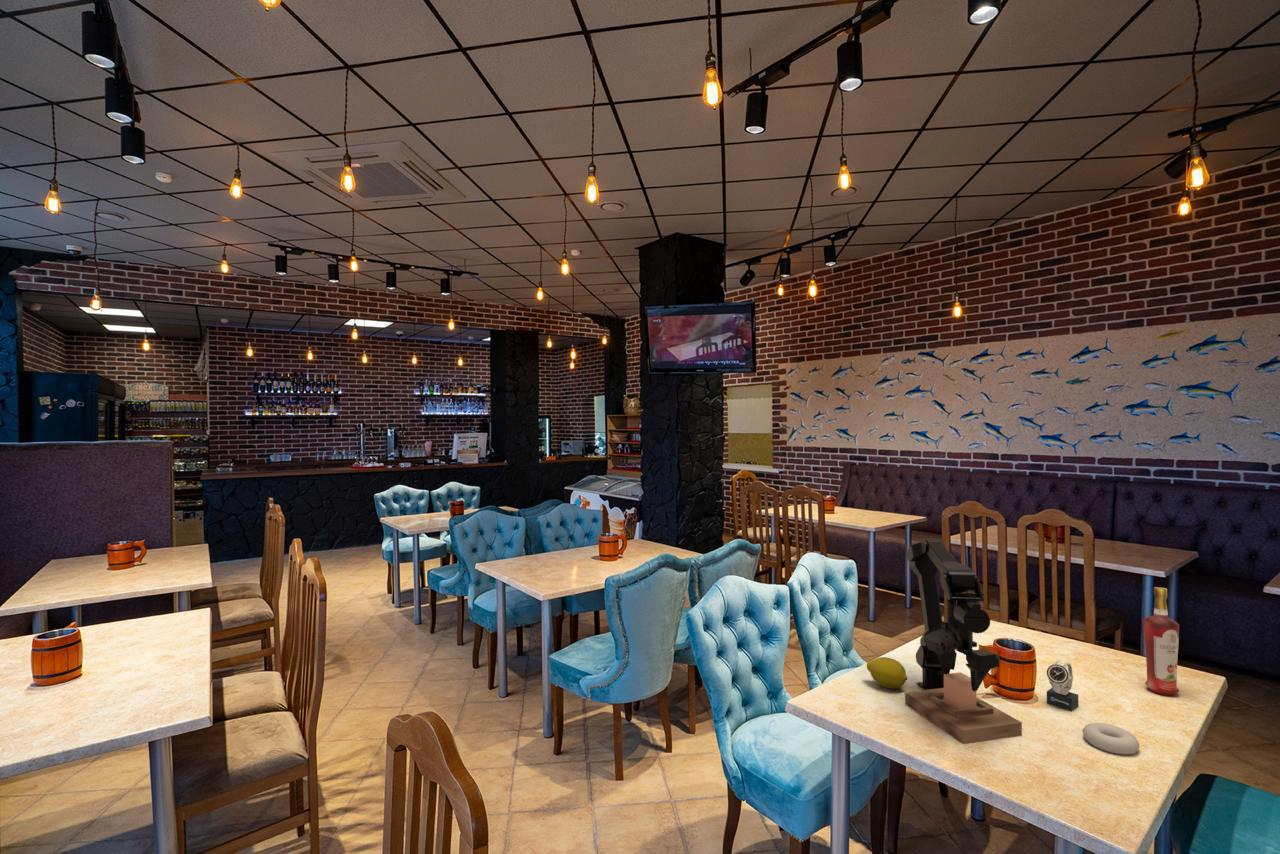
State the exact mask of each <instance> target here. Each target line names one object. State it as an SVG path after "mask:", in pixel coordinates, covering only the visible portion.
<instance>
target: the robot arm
mask: <svg viewBox="0 0 1280 854" xmlns="http://www.w3.org/2000/svg"><path fill="white" fill-rule="evenodd" d="M906 558H907V560H908V562H909V567H910V569H911V571H912V572H913V573H914V574H915V575H916V577H917V580H918V586H919V587H918V588H919V594H920V595H919V596H920V602H921V611H922V617H923V624H924V626H923V627H924V631H923V633H922V635H921V637H920V640H919V644H920V645H919V647H918V649H917V651H916V652H915V662H916V664H918V666H919V667H920V668H921V671H922V672H921V673H922V674H921V675H922V681H919V682H917V685H918V687H921V688H922V689H923V690H929V689H938V688H944V674H950V673H951V670H953V671H954V670H955V668H956V660H957V654H958V653H957V652H959V653H961V654H962V655H965V660H966V662H967V663H965V666H966V667H967V668H968V669H969V671H970V672H969V673H970V677H971V686H972V691H976V692H977V691H978V690H979V688H980V686H981V685H982V683H983V681H984V680H985V678H986V677H987V675H988V674H989V672H990V671H991V669H993V670H994V669H996V668H1000V657H999V656H998V655H997V654H996V653H994V652H991V651H990V650H988V649H986V648H983V649H982V648H981V649H973V648H976V647H977V648H978V642H976V641H974V637H973V635H974V634H982V633H985V632H986V631H987V630H988V629H989V628H990V625H991V618H990V617H989V614H988V613H987V612H986V611H985V610H984V609H982V604H981V603H980V602H984V595H985V593H984V590H983V587H982V585H981V582H980V580H979V578H978V575H977V574H976V573H975V572H974V570H973V569H972V568H970V567H969V566H968V565H966V564H962V563H959V562H958V561H957V560H956V558H955V557H954V556H953V555H952V554H951V552H950V551H949V549H948V548H947V547H946V546H945V544H944V540H942V539H938V538H936V539H935V538H924V539H922V540H921V541H920V542H917V543H914V544H912V545H910V546H909V547H908V549H907V551H906ZM938 572H939V573H940V575H939V580H940V581H939V582H940V584H941V588H942V591H943V592H944V596H945V602H946V603H945V608H946V610H945V613H946V615H945V616H946V619H945V620H944V621H943V616H942V611H941V604H940V603H941V602H940V597H939V589H938V584H937V583H938V582H937V575H938ZM956 651H957V652H956Z"/></svg>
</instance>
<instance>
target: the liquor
mask: <svg viewBox="0 0 1280 854" xmlns="http://www.w3.org/2000/svg"><path fill="white" fill-rule="evenodd" d="M1153 595H1154V607H1153V615H1150V616H1149V615H1148V616H1146V617H1145V618H1143V619H1142V621H1143V622H1142V623H1143V636H1144V647H1145V661H1146V662H1145V663H1146V681H1145V684H1144V685H1145V686H1147V687H1148V689H1149V690H1150V691H1152V692H1153V693H1155V694H1158V695H1162V696H1173V695H1175V694H1177V693H1178V692H1180V690H1179V688H1178V686H1177V684H1178V682H1177V681H1178V655H1179V641H1180V640H1179V639H1180V624H1179V623H1178V622H1177V621H1175V620H1174V619H1173V618H1170V617H1169V614H1168V613H1169V612H1168V605H1167V599H1168V589H1167V588H1165V587H1162V586H1161V587H1159V586H1158V587H1157V586H1154V587H1153Z"/></svg>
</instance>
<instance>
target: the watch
mask: <svg viewBox="0 0 1280 854" xmlns="http://www.w3.org/2000/svg"><path fill="white" fill-rule="evenodd" d="M1046 676H1047V679H1048V682H1049V684H1050V686H1051V688H1050V689H1048V690H1047V691H1046V704H1049V705H1051V706H1054V707H1057V708H1060V709H1063V710H1066V711H1070V712H1073V711H1075V710H1076V709H1077V708H1079V694H1077V693H1074V692H1072V691H1071V690H1072V688H1073V680H1074V675H1073V666H1072V665H1071V663H1070V662H1066V661H1062V660H1056V661H1054V662H1053V663H1052V664H1051V665H1049V666H1048V667H1047V669H1046ZM1070 691H1071V692H1070Z"/></svg>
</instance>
